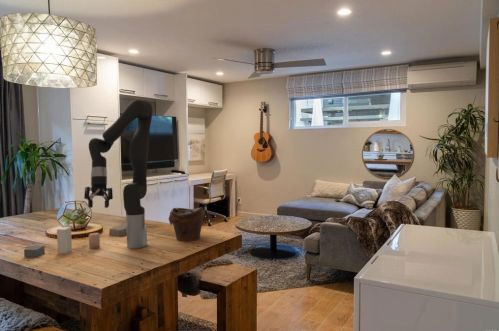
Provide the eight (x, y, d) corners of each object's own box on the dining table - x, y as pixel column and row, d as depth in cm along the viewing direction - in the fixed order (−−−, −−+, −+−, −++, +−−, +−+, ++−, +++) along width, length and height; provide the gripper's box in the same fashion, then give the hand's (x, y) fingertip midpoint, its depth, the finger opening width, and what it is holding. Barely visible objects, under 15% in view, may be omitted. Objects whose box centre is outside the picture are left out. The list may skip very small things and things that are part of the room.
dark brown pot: (165, 236, 202) (165, 205, 200) (198, 232, 211) (198, 202, 210) (174, 245, 186) (173, 211, 185) (209, 240, 195) (209, 208, 194)
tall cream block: (72, 250, 178) (70, 227, 177) (66, 253, 173) (65, 229, 172) (63, 250, 178) (62, 227, 177) (57, 253, 174) (56, 229, 173)
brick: (120, 237, 202) (119, 229, 202) (108, 235, 205) (108, 227, 205) (138, 230, 218) (138, 222, 217) (127, 229, 221) (127, 221, 220)
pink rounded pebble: (101, 246, 185) (101, 232, 185) (96, 249, 180) (96, 235, 180) (92, 245, 185) (91, 232, 185) (87, 248, 180) (86, 235, 180)
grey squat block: (44, 253, 174) (44, 245, 173) (36, 258, 168) (36, 249, 167) (33, 253, 174) (32, 245, 174) (24, 257, 168) (24, 249, 168)
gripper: (89, 174, 176) (89, 207, 173) (115, 176, 187) (115, 207, 185) (82, 176, 181) (81, 208, 178) (107, 178, 192) (107, 208, 189)
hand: (98, 207), depth 181 cm, fingers open, 8 cm apart
